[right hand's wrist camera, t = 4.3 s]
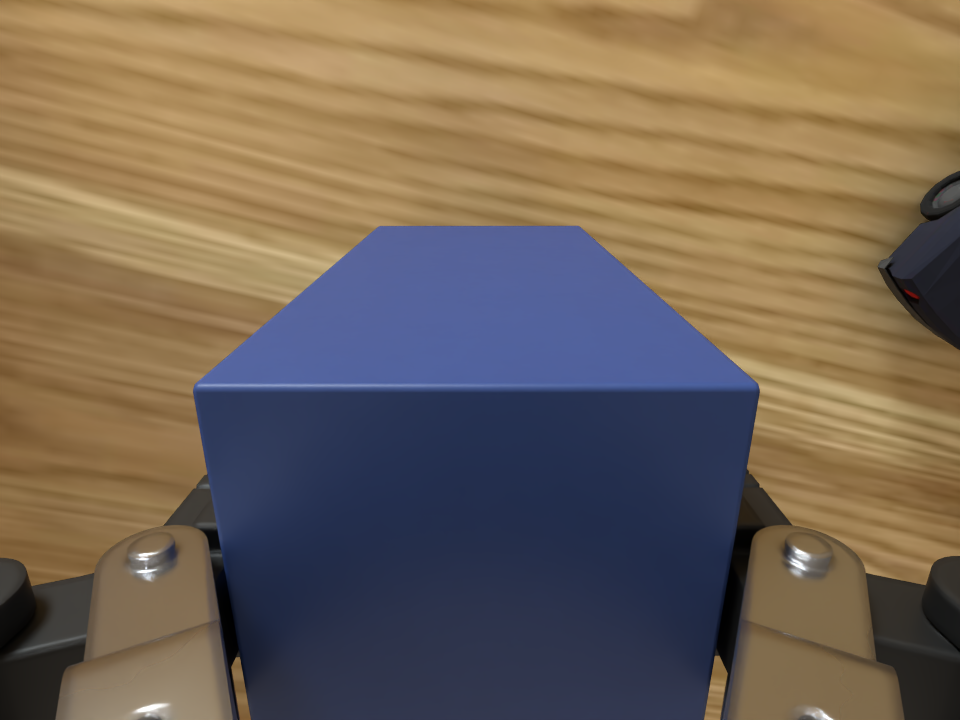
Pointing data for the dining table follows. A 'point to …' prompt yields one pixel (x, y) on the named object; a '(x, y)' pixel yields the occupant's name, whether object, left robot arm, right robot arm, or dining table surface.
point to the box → (477, 486)
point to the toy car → (931, 264)
